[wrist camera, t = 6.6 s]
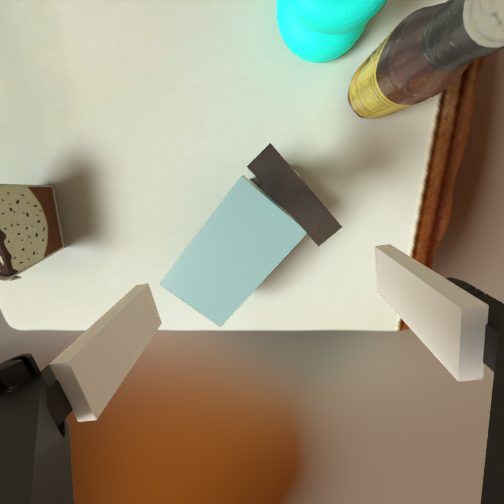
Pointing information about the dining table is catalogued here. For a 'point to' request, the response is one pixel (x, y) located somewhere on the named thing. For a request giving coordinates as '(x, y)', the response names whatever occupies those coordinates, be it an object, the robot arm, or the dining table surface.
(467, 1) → the sauce bottle
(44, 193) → the food container
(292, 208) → the key
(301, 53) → the donuts
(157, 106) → the dining table surface
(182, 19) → the dining table surface
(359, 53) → the dining table surface
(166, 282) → the cover
